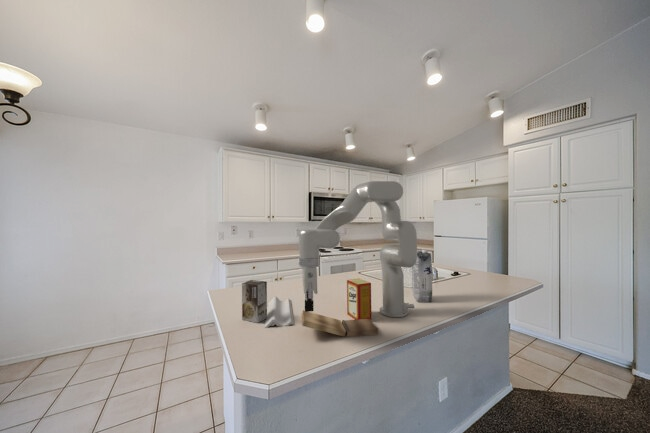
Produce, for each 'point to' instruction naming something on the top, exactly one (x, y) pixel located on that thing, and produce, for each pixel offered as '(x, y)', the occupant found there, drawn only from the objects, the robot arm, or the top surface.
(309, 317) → the oak plank
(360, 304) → the baking soda box
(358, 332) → the walnut board
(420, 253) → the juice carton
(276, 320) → the crown molding
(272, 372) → the top surface
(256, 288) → the coffee box
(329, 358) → the top surface
